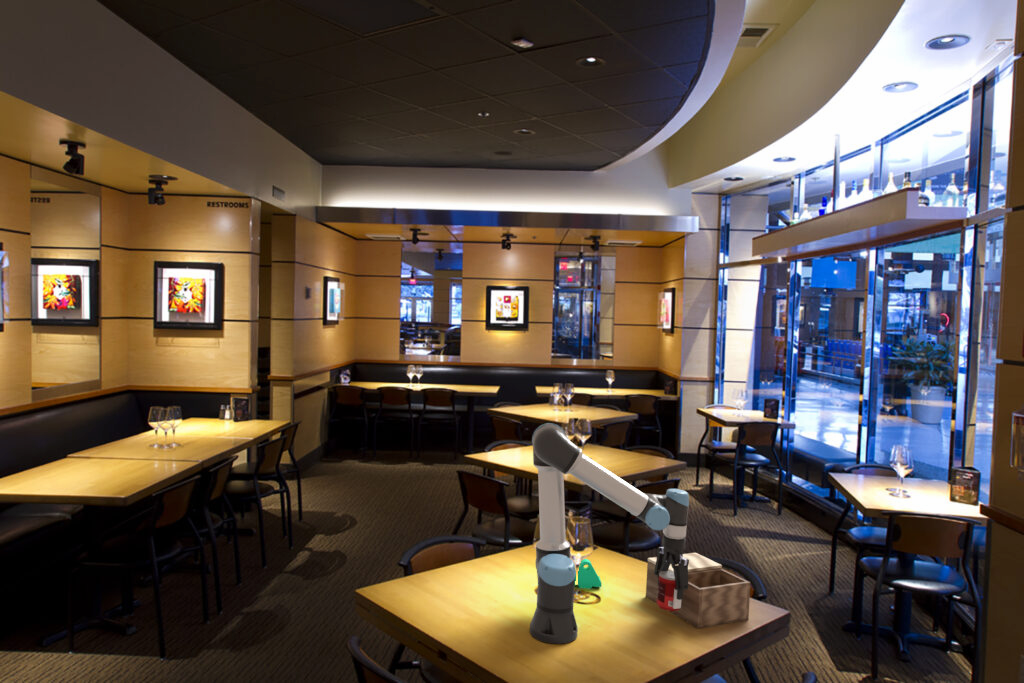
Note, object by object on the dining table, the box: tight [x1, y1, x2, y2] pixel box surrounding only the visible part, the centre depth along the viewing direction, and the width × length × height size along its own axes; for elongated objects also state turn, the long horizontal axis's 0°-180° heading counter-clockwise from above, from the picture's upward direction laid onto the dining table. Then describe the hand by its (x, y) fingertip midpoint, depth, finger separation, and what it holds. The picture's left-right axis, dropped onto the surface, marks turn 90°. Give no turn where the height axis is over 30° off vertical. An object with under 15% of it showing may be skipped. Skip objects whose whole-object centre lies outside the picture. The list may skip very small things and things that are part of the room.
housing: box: [645, 560, 751, 630], centre depth 236 cm, size 22×28×13 cm
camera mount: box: [574, 558, 602, 590], centre depth 253 cm, size 12×8×10 cm, turn 89°
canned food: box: [656, 571, 680, 612], centre depth 223 cm, size 8×8×11 cm
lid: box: [647, 550, 723, 573], centre depth 243 cm, size 22×14×4 cm, turn 115°
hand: (668, 603), depth 223 cm, fingers closed on canned food, 8 cm apart
